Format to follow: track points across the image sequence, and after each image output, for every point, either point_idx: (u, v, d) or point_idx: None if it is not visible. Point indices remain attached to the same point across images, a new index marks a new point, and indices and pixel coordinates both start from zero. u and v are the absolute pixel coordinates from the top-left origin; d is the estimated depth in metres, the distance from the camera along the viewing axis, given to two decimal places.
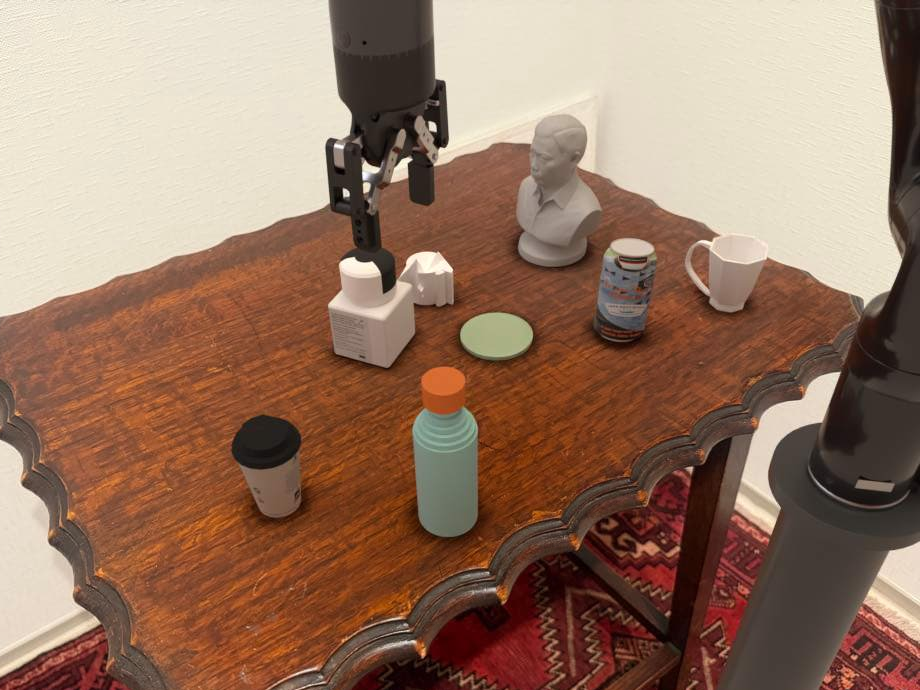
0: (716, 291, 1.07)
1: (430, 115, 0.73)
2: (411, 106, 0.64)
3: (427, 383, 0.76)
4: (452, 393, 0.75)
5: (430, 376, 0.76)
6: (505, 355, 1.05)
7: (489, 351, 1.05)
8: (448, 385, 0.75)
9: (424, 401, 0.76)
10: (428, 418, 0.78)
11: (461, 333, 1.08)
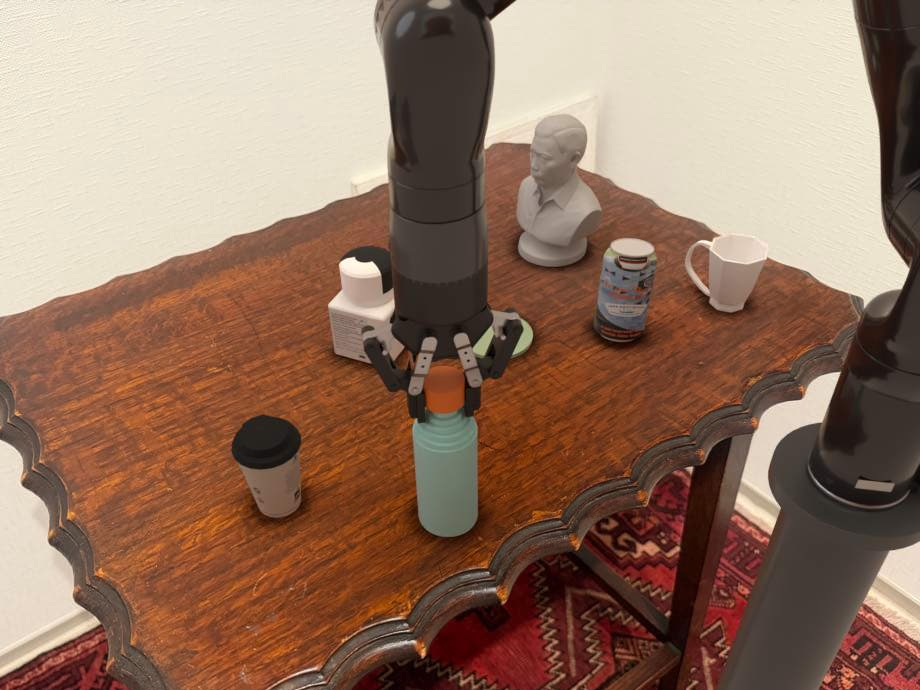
0: (716, 290, 1.07)
1: (497, 343, 0.73)
2: (426, 325, 0.68)
3: (446, 390, 0.75)
4: (462, 373, 0.76)
5: (435, 388, 0.75)
6: None
7: None
8: (450, 376, 0.76)
9: (453, 406, 0.76)
10: (428, 418, 0.78)
11: None
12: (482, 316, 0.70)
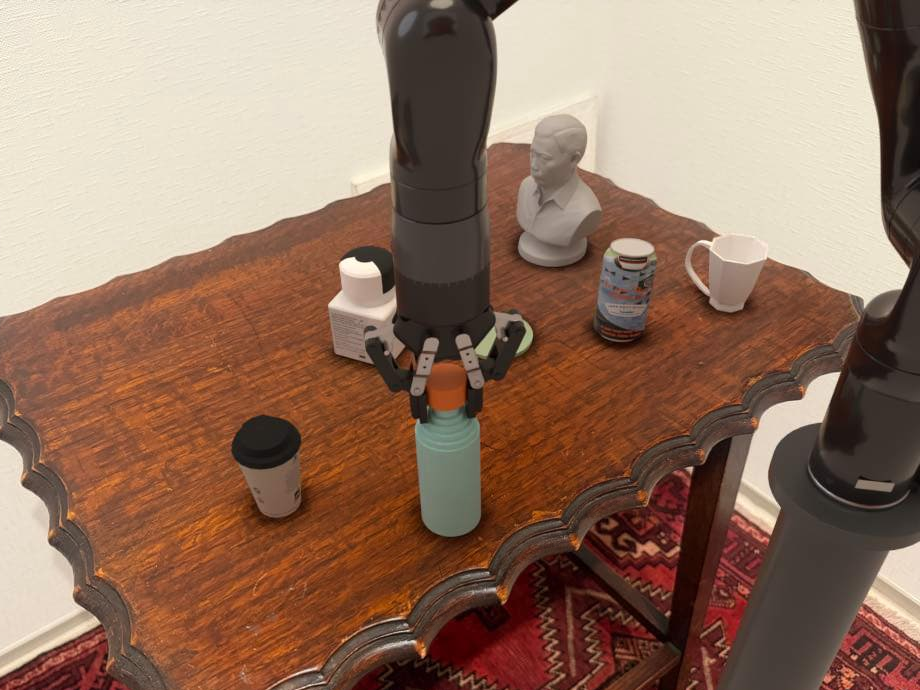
0: (716, 291, 1.07)
1: (500, 345, 0.73)
2: (427, 326, 0.67)
3: (441, 367, 0.77)
4: None
5: (452, 368, 0.76)
6: None
7: None
8: (437, 380, 0.75)
9: None
10: (430, 417, 0.78)
11: None
12: (484, 317, 0.70)
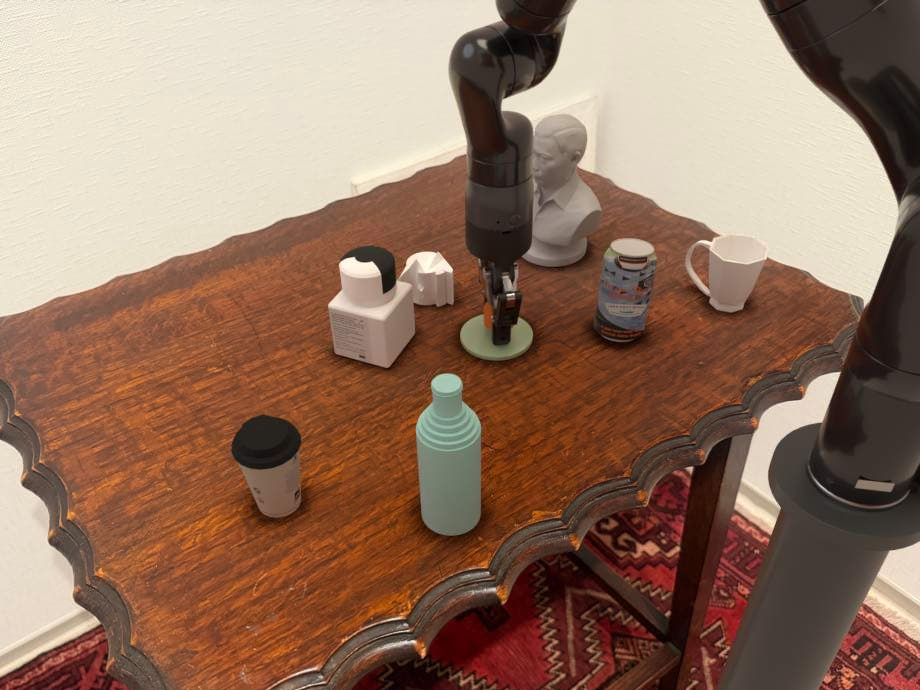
0: (716, 291, 1.07)
1: None
2: None
3: (488, 309, 1.05)
4: None
5: None
6: (505, 355, 1.05)
7: (489, 351, 1.05)
8: None
9: (485, 322, 1.06)
10: (431, 417, 0.78)
11: (461, 333, 1.08)
12: (495, 271, 0.98)
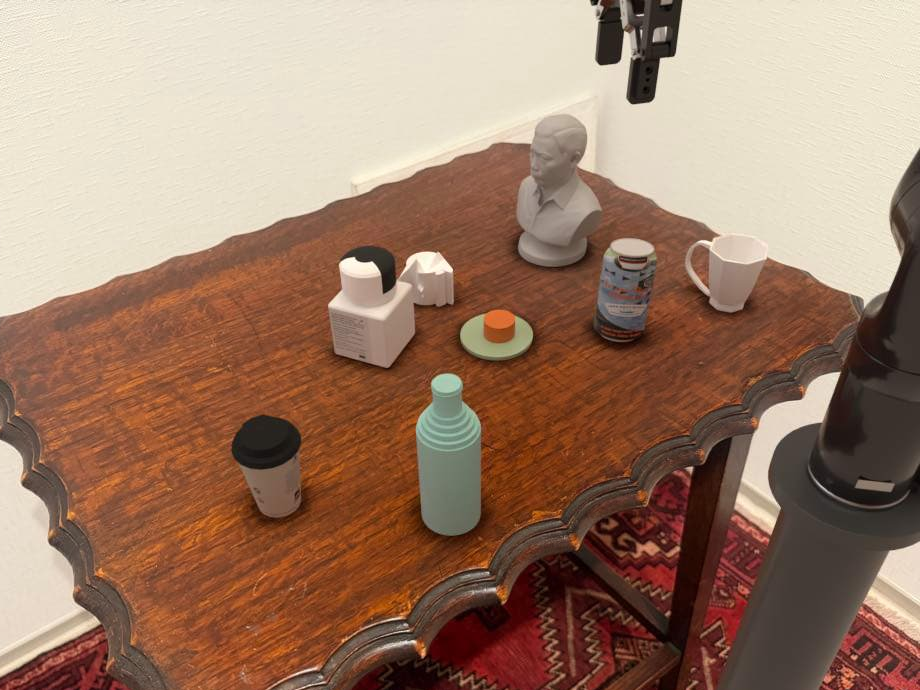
0: (716, 290, 1.07)
1: None
2: None
3: (488, 320, 1.06)
4: (506, 327, 1.05)
5: (489, 316, 1.07)
6: (505, 355, 1.05)
7: (489, 351, 1.05)
8: (503, 321, 1.06)
9: (485, 334, 1.07)
10: (431, 417, 0.78)
11: (461, 333, 1.08)
12: None
